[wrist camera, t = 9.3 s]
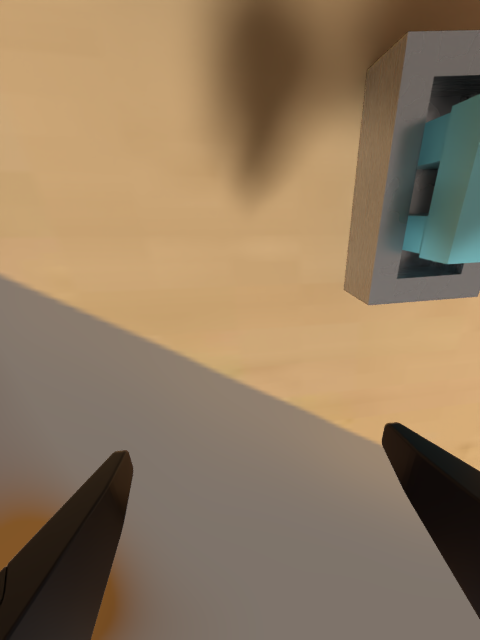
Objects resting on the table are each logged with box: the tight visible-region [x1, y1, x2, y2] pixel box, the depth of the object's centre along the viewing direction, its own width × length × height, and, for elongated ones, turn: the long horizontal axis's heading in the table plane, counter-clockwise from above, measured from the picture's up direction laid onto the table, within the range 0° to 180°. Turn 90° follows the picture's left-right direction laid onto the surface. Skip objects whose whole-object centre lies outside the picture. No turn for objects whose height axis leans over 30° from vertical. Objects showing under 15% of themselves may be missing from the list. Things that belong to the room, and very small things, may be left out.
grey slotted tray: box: [344, 30, 480, 305], centre depth 16 cm, size 13×7×4 cm, turn 3°
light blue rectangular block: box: [402, 94, 480, 264], centre depth 14 cm, size 7×3×6 cm, turn 2°
